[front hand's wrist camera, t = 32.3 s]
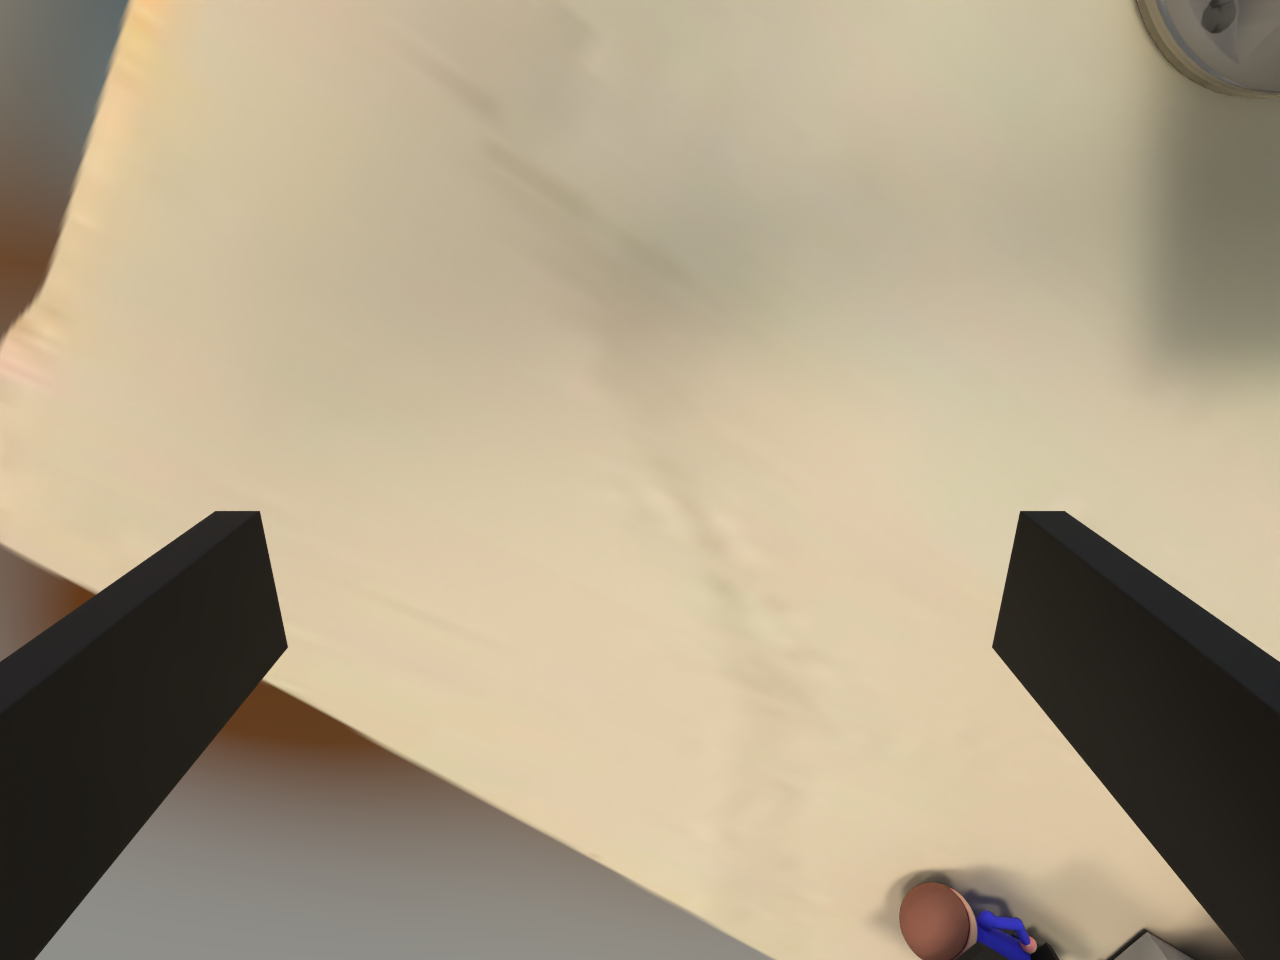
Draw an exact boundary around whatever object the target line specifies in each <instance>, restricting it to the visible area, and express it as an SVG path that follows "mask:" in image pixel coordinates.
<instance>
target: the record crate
mask: <svg viewBox="0 0 1280 960" xmlns="http://www.w3.org/2000/svg"><path fill="white" fill-rule="evenodd" d="M1114 960H1193V959H1192V958H1190V957H1188V956H1187V955H1185V954H1183V953H1182V952H1180V951H1178V950H1177V949H1175V948H1173V947H1172V946H1170V945H1168V944H1167V943H1165V942H1163V941H1162V940H1160V939H1158V938H1157V937H1155V936H1153V935H1151V934H1150V933H1148V932H1146V933H1145V934H1144V935H1143V936H1142V937H1140V938H1139V939H1138V940H1137V941H1136V942H1134V943H1133V944H1132V945H1131V946H1130V947H1128V948H1127V949H1126V950H1125V951H1124V952H1122V953H1121V954H1120V955H1119V956H1118V957H1116V958H1115V959H1114Z"/></svg>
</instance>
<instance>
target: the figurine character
mask: <svg viewBox="0 0 1280 960" xmlns="http://www.w3.org/2000/svg"><path fill="white" fill-rule="evenodd" d="M899 919H900V927H901V931H902V934H903V936H904V939H905V941H906V942H907V944H908V946H909V947H910V948H911V950H912V951H913V952H914V953H915V954H916V955H917V956H918V957H920V958H921V959H922V960H1059V958H1058V957H1057V955H1056V953H1055V952H1054V950H1053V948H1052V947H1051V946H1050V945H1049V944H1047V943H1044V944H1043V945H1042V946H1041V944H1040V943H1038V942H1036V941H1035V940H1034V939H1033V938H1032V937H1030V936H1028V934H1027V932H1026V930H1025V928H1024V925H1023V923H1022V921H1021V920H1020V919H1018V918H1009V917H998V916H994V915H993V914H992V913H991V912H990V911H983V912H981V913H980V914H979V916H978V919H977V918H975V916H974V914H973V911H972V909H971V907H970V906H969V904H968V903H967V901H966V900H965V899H964V898H963V897H962V896H961V895H960V894H959V893H958V892H957V891H955V890H954V889H952V888H950V887H949V886H946V885H944V884H940V883H934V882H929V883H923V884H920V885H918V886H916V887H914V888H913V889H911V890H910V891H909V892H908V893H907V895H906V896H905V898H904V899H903V902H902V904H901V908H900V915H899ZM999 929H1007V930H1015V931H1016V933H1013V934H1012V936H1010V935H1008V934H1006V933H1004V932H1002V931H1001V930H999ZM1030 953H1031V954H1030Z"/></svg>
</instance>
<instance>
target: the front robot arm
mask: <svg viewBox="0 0 1280 960" xmlns="http://www.w3.org/2000/svg"><path fill="white" fill-rule="evenodd" d="M1136 1H1137V5H1138V8H1139V11H1140V13H1141V16H1142V19H1143V21H1144V24H1145V26H1146V28H1147V30H1148V32H1149V34H1150V36H1151V37H1152V39H1153V41H1154V42H1155V44H1156V46H1157V47H1158V49H1159V50H1160V51H1161V52H1162V54H1163V55H1164V56H1165V57H1166V59H1167V60H1168V61H1169V62H1170V63H1171V64H1172V65H1173V66H1174V67H1175V68H1177V69H1178V70H1179V71H1180V72H1181V73H1183V74H1184V75H1185V76H1187V77H1188V78H1189V79H1191V80H1193V81H1194V82H1196V83H1198V84H1200V85H1202V86H1203V87H1206V88H1208V89H1211V90H1213V91H1216V92H1219V93H1223V94H1227V95H1231V96H1237V97H1244V98H1271V97H1280V0H1136ZM287 648H288V646H287V641H286V636H285V631H284V626H283V621H282V617H281V612H280V607H279V602H278V597H277V592H276V587H275V583H274V578H273V573H272V568H271V563H270V558H269V554H268V549H267V544H266V539H265V534H264V529H263V524H262V520H261V515H260V511H215V512H214V513H212V514H211V515H209V516H208V517H206V518H205V519H204V520H202V521H201V522H199V523H198V524H196V525H195V526H194V527H192V528H191V529H189V530H188V531H186V532H185V533H184V534H182V535H181V536H179V537H178V538H176V539H175V540H174V541H172V542H171V543H169V544H168V545H166V546H165V547H164V548H162V549H161V550H159V551H158V552H156V553H155V554H154V555H152V556H151V557H149V558H148V559H147V560H145V561H144V562H142V563H141V564H139V565H138V566H137V567H135V568H134V569H132V570H131V571H129V572H128V573H127V574H125V575H124V576H122V577H121V578H119V579H118V580H117V581H115V582H114V583H112V584H111V585H109V586H108V587H107V588H105V589H104V590H102V591H101V592H99V593H98V594H97V595H95V596H94V597H92V598H91V599H90V600H88V601H87V602H85V603H84V604H82V605H81V606H80V607H78V608H77V609H75V610H74V611H72V612H71V613H70V614H68V615H67V616H65V617H64V618H62V619H61V620H60V621H58V622H57V623H55V624H54V625H53V626H51V627H50V628H48V629H47V630H45V631H44V632H43V633H41V634H40V635H38V636H37V637H35V638H34V639H32V640H31V641H30V642H28V643H27V644H25V645H24V646H22V647H21V648H20V649H18V650H17V651H15V652H14V653H13V654H11V655H10V656H8V657H7V658H5V659H4V660H3V661H1V662H0V960H34V959H35V958H36V957H37V956H38V955H39V953H40V952H41V951H42V950H43V948H44V947H45V946H46V945H47V943H48V942H49V941H50V940H51V939H52V937H53V936H54V935H55V934H56V932H57V931H58V930H59V929H60V927H61V926H62V925H63V924H64V923H65V921H66V920H67V919H68V918H69V916H70V915H71V914H72V913H73V911H74V910H75V909H76V908H77V906H78V905H79V904H80V903H81V902H82V900H83V899H84V898H85V897H86V895H87V894H88V893H89V892H90V890H91V889H92V888H93V887H94V886H95V884H96V883H97V882H98V881H99V879H100V878H101V877H102V876H103V874H104V873H105V872H106V871H107V870H108V868H109V867H110V866H111V865H112V863H113V862H114V861H115V860H116V858H117V857H118V856H119V855H120V854H121V852H122V851H123V850H124V849H125V847H126V846H127V845H128V844H129V842H130V841H131V840H132V839H133V837H134V836H135V835H136V834H137V833H138V831H139V830H140V829H141V828H142V826H143V825H144V824H145V823H146V821H147V820H148V819H149V818H150V817H151V815H152V814H153V813H154V812H155V810H156V809H157V808H158V807H159V805H160V804H161V803H162V802H163V801H164V799H165V798H166V797H167V796H168V794H169V793H170V792H171V791H172V789H173V788H174V787H175V786H176V784H177V783H178V782H179V781H180V780H181V778H182V777H183V776H184V775H185V773H186V772H187V771H188V770H189V768H190V767H191V766H192V765H193V763H194V762H195V761H196V760H197V759H198V757H199V756H200V755H201V754H202V752H203V751H204V750H205V749H206V747H207V746H208V745H209V744H210V743H211V741H212V740H213V739H214V738H215V736H216V735H217V734H218V733H219V732H220V730H221V729H222V728H223V727H224V725H225V724H226V723H227V722H228V720H229V719H230V718H231V717H232V715H233V714H234V713H235V712H236V711H237V709H238V708H239V707H240V706H241V704H242V703H243V702H244V701H245V699H246V698H247V697H248V696H249V695H250V693H251V692H252V691H253V690H254V688H255V687H256V686H257V685H258V683H259V682H260V681H261V680H262V679H263V677H264V676H265V675H266V674H267V672H268V671H269V670H270V669H271V667H272V666H273V665H274V664H275V663H276V661H277V660H278V659H279V658H280V656H281V655H282V654H283V653H284V651H285V650H286V649H287ZM992 648H993V649H994V650H995V651H996V653H997V654H998V655H999V656H1000V658H1001V659H1002V660H1003V661H1004V663H1005V664H1006V665H1007V666H1008V667H1009V669H1010V670H1011V671H1012V672H1013V674H1014V675H1015V676H1016V677H1017V679H1018V680H1019V681H1020V682H1021V683H1022V685H1023V686H1024V687H1025V688H1026V690H1027V691H1028V692H1029V693H1030V695H1031V696H1032V697H1033V698H1034V699H1035V701H1036V702H1037V703H1038V704H1039V706H1040V707H1041V708H1042V709H1043V711H1044V712H1045V713H1046V714H1047V716H1048V717H1049V718H1050V719H1051V720H1052V722H1053V723H1054V724H1055V725H1056V727H1057V728H1058V729H1059V730H1060V732H1061V733H1062V734H1063V735H1064V736H1065V738H1066V739H1067V740H1068V741H1069V743H1070V744H1071V745H1072V746H1073V748H1074V749H1075V750H1076V751H1077V752H1078V754H1079V755H1080V756H1081V757H1082V759H1083V760H1084V761H1085V762H1086V764H1087V765H1088V766H1089V767H1090V768H1091V770H1092V771H1093V772H1094V773H1095V775H1096V776H1097V777H1098V778H1099V780H1100V781H1101V782H1102V783H1103V785H1104V786H1105V787H1106V788H1107V789H1108V791H1109V792H1110V793H1111V794H1112V796H1113V797H1114V798H1115V799H1116V801H1117V802H1118V803H1119V804H1120V805H1121V807H1122V808H1123V809H1124V810H1125V812H1126V813H1127V814H1128V815H1129V817H1130V818H1131V819H1132V820H1133V821H1134V823H1135V824H1136V825H1137V826H1138V828H1139V829H1140V830H1141V831H1142V833H1143V834H1144V835H1145V836H1146V838H1147V839H1148V840H1149V841H1150V842H1151V844H1152V845H1153V846H1154V847H1155V849H1156V850H1157V851H1158V852H1159V854H1160V855H1161V856H1162V857H1163V858H1164V860H1165V861H1166V862H1167V863H1168V865H1169V866H1170V867H1171V868H1172V870H1173V871H1174V872H1175V873H1176V874H1177V876H1178V877H1179V878H1180V879H1181V881H1182V882H1183V883H1184V884H1185V886H1186V887H1187V888H1188V889H1189V890H1190V892H1191V893H1192V894H1193V895H1194V897H1195V898H1196V899H1197V900H1198V902H1199V903H1200V904H1201V905H1202V907H1203V908H1204V909H1205V910H1206V911H1207V913H1208V914H1209V915H1210V916H1211V918H1212V919H1213V920H1214V921H1215V923H1216V924H1217V925H1218V926H1219V927H1220V929H1221V930H1222V931H1223V932H1224V934H1225V935H1226V936H1227V937H1228V939H1229V940H1230V941H1231V942H1232V943H1233V945H1234V946H1235V947H1236V948H1237V950H1238V951H1239V952H1240V953H1241V955H1242V956H1243V957H1244V958H1245V959H1246V960H1280V662H1279V661H1277V660H1276V659H1275V658H1273V657H1272V656H1270V655H1269V654H1268V653H1266V652H1265V651H1263V650H1262V649H1260V648H1259V647H1258V646H1256V645H1255V644H1253V643H1252V642H1250V641H1249V640H1248V639H1246V638H1245V637H1243V636H1242V635H1240V634H1239V633H1238V632H1236V631H1235V630H1233V629H1232V628H1230V627H1229V626H1228V625H1226V624H1225V623H1223V622H1222V621H1220V620H1219V619H1218V618H1216V617H1215V616H1213V615H1212V614H1210V613H1209V612H1208V611H1206V610H1205V609H1203V608H1202V607H1200V606H1199V605H1198V604H1196V603H1195V602H1193V601H1192V600H1191V599H1189V598H1188V597H1186V596H1185V595H1183V594H1182V593H1181V592H1179V591H1178V590H1176V589H1175V588H1173V587H1172V586H1171V585H1169V584H1168V583H1166V582H1165V581H1163V580H1162V579H1161V578H1159V577H1158V576H1156V575H1155V574H1153V573H1152V572H1151V571H1149V570H1148V569H1146V568H1145V567H1143V566H1142V565H1141V564H1139V563H1138V562H1136V561H1135V560H1133V559H1132V558H1131V557H1129V556H1128V555H1126V554H1125V553H1124V552H1122V551H1121V550H1119V549H1118V548H1116V547H1115V546H1114V545H1112V544H1111V543H1109V542H1108V541H1106V540H1105V539H1104V538H1102V537H1101V536H1099V535H1098V534H1096V533H1095V532H1094V531H1092V530H1091V529H1089V528H1088V527H1086V526H1085V525H1084V524H1082V523H1081V522H1079V521H1078V520H1076V519H1075V518H1074V517H1072V516H1071V515H1069V514H1068V513H1066V512H1065V511H1020V515H1019V520H1018V524H1017V529H1016V534H1015V539H1014V544H1013V549H1012V554H1011V558H1010V563H1009V568H1008V573H1007V578H1006V583H1005V587H1004V592H1003V597H1002V602H1001V607H1000V612H999V617H998V621H997V626H996V631H995V636H994V641H993V646H992Z"/></svg>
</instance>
